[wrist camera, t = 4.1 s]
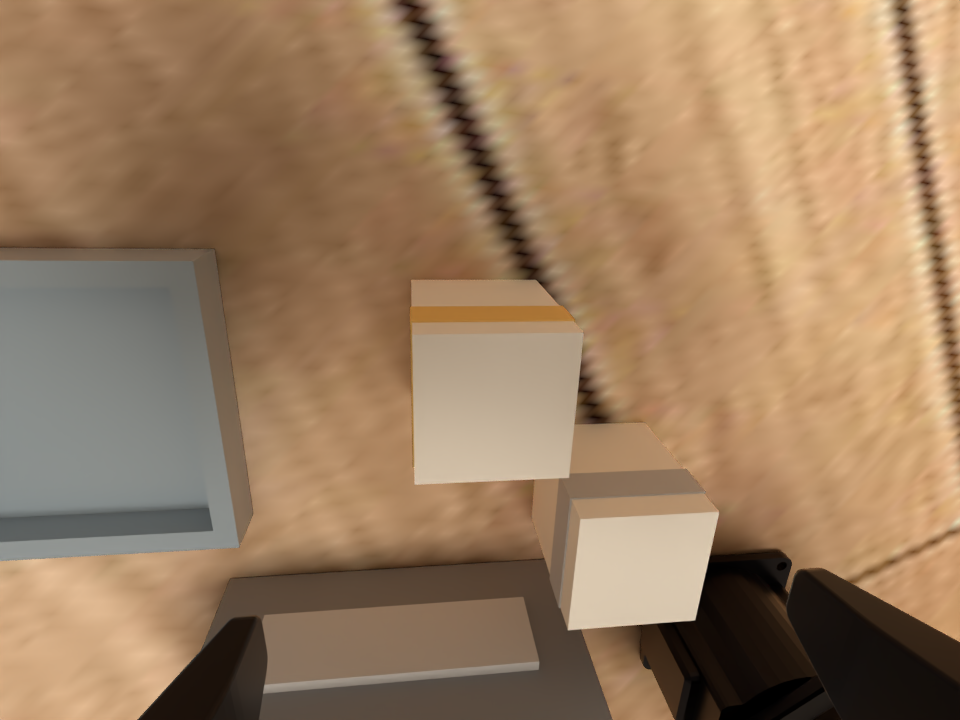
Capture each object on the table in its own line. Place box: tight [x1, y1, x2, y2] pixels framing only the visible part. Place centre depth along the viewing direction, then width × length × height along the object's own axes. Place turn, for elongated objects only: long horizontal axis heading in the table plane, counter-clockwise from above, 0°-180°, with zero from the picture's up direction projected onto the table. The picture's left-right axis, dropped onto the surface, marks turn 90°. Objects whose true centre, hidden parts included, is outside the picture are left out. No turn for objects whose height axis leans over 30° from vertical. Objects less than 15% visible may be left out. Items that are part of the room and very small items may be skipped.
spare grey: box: [531, 422, 719, 630], centre depth 21 cm, size 5×5×6 cm
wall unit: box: [202, 559, 612, 720], centre depth 22 cm, size 14×8×8 cm, turn 89°
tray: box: [0, 248, 253, 561], centre depth 19 cm, size 11×11×2 cm
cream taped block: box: [410, 280, 584, 485], centre depth 18 cm, size 5×5×6 cm
